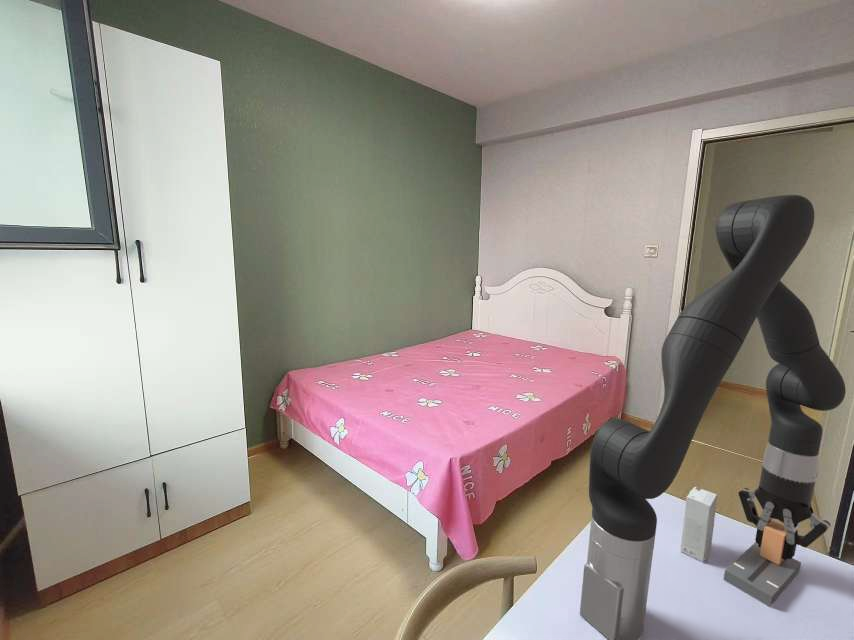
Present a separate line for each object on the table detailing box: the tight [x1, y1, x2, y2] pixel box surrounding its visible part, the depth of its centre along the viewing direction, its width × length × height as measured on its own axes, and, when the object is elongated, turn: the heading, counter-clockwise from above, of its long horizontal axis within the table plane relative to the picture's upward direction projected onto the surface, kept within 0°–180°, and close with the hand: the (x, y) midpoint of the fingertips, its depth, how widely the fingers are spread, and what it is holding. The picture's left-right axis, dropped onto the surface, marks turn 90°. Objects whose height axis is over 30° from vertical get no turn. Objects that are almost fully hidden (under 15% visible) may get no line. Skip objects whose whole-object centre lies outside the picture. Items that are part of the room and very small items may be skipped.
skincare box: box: [680, 486, 718, 563], centre depth 83 cm, size 6×4×12 cm
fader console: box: [723, 541, 802, 607], centre depth 77 cm, size 15×7×2 cm, turn 123°
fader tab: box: [760, 520, 786, 565], centre depth 79 cm, size 4×3×6 cm
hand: (773, 551), depth 79 cm, fingers closed on fader tab, 3 cm apart
